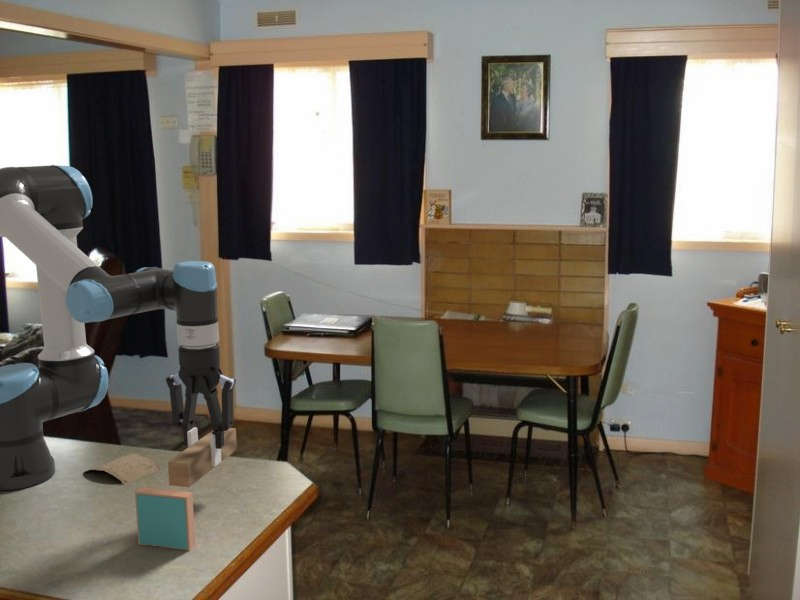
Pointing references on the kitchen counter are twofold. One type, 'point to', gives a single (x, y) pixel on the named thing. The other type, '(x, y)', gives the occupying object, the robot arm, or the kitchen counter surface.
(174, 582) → the kitchen counter surface
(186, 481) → the walnut stick
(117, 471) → the curved brown bark piece
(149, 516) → the terracotta tile
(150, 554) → the kitchen counter surface
